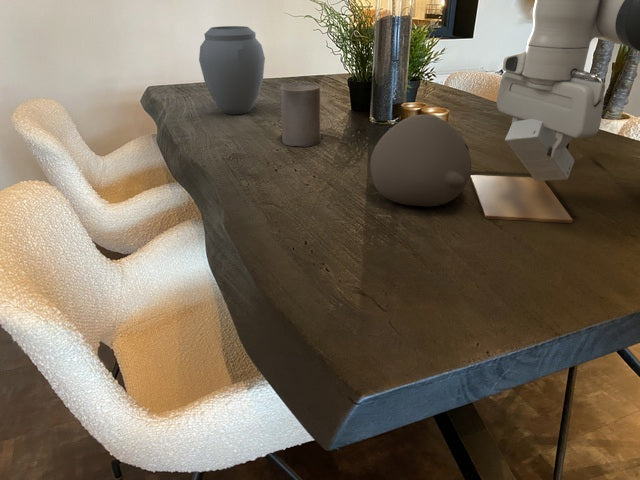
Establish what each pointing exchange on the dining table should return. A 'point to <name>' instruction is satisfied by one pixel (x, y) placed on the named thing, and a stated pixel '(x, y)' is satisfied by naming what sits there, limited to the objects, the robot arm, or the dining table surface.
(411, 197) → the decorative object
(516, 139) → the cosmetic box
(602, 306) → the dining table surface
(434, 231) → the dining table surface
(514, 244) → the dining table surface
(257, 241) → the dining table surface
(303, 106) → the pillar candle
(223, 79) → the vase
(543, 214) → the copper plate
